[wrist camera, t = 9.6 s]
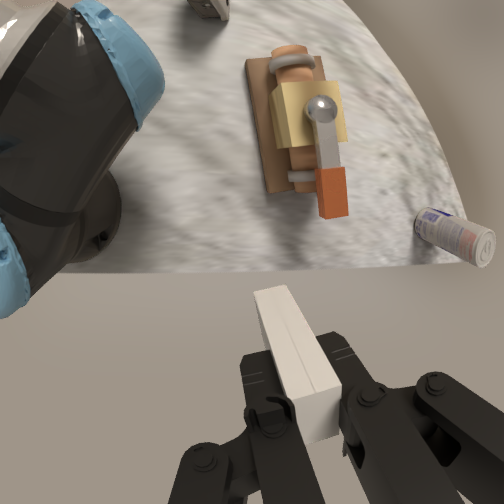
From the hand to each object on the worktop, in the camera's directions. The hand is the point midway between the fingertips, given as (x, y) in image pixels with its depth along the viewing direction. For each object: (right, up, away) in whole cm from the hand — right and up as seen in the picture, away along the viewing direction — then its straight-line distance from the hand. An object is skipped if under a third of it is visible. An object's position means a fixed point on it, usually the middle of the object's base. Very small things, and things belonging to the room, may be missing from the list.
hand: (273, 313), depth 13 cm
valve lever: (+6, +13, +15) cm, 20 cm away
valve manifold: (+4, +20, +22) cm, 30 cm away
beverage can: (+29, +8, +30) cm, 42 cm away
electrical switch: (-7, +38, +14) cm, 41 cm away
